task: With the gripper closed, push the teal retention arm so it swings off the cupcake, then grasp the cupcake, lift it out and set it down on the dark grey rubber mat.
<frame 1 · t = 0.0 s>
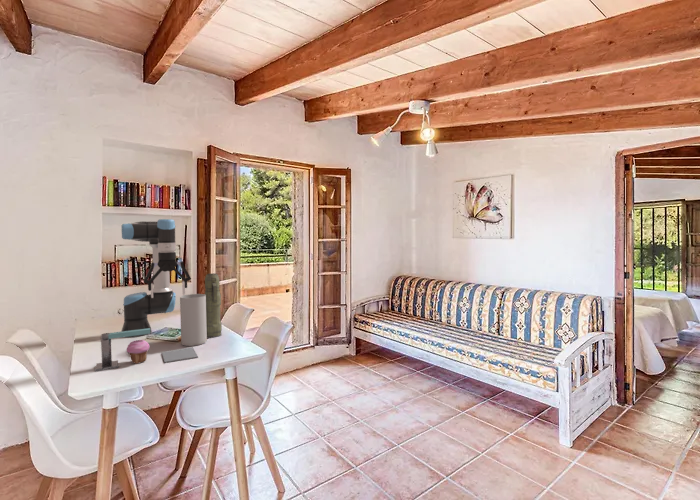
hand: (168, 296, 179), 28 cm above the table, tool pointing down, fingers open, 13 cm apart
retention arm: (126, 333, 166), point 14 cm above the table, hinge at 0.0°
cylinder vase: (194, 343, 198), on the table
cupcake: (138, 362, 169), on the table
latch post: (107, 366, 163), on the table
rubber mat: (179, 355, 178), on the table
thermos: (213, 335, 212), on the table
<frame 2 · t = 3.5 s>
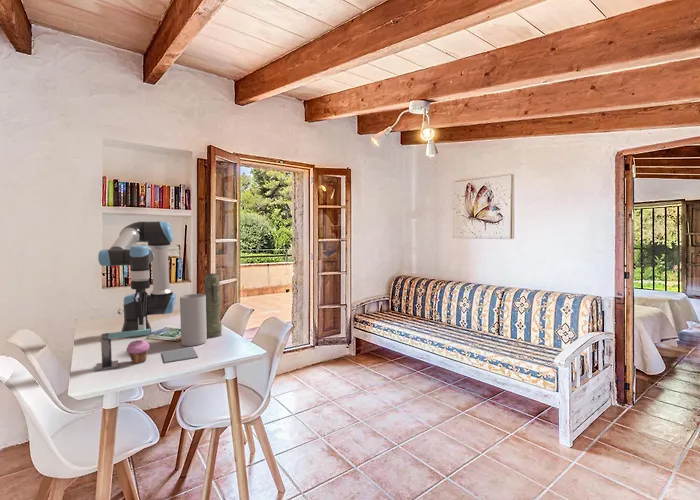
hand: (142, 331, 171), 14 cm above the table, tool pointing down, fingers closed
retention arm: (126, 334, 166), point 14 cm above the table, hinge at -4.2°, touching gripper
everything else where it was.
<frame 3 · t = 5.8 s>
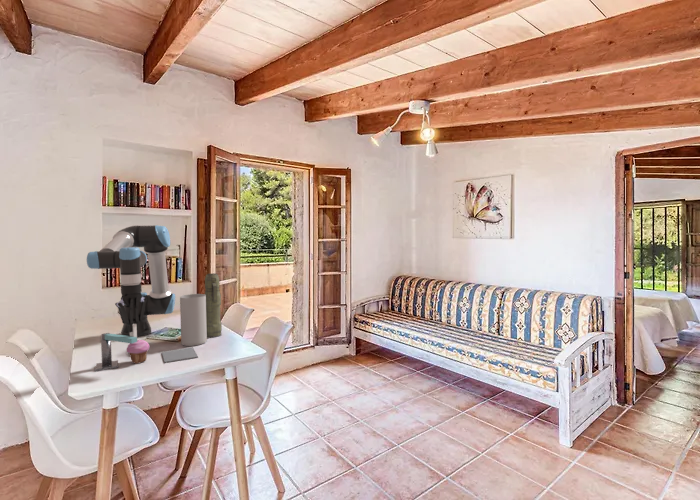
hand: (133, 338, 159), 13 cm above the table, tool pointing down, fingers closed
retention arm: (118, 338, 160), point 14 cm above the table, hinge at -51.6°, touching gripper
everything else where it was.
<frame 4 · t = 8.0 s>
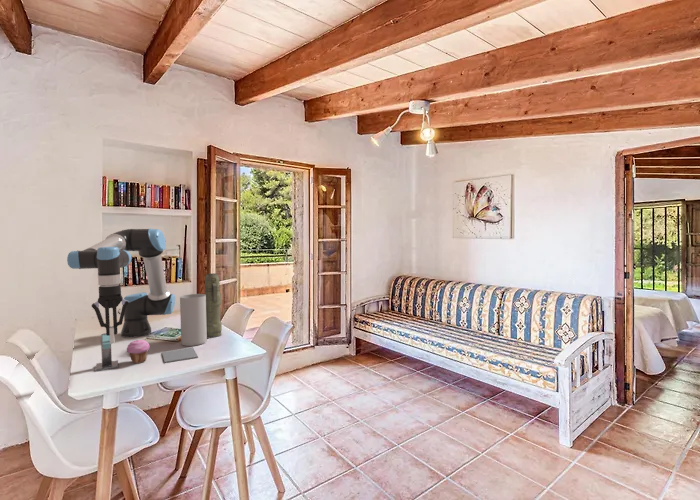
hand: (112, 342, 152), 14 cm above the table, tool pointing down, fingers closed
retention arm: (106, 340, 156), point 14 cm above the table, hinge at -86.8°
everything else where it was.
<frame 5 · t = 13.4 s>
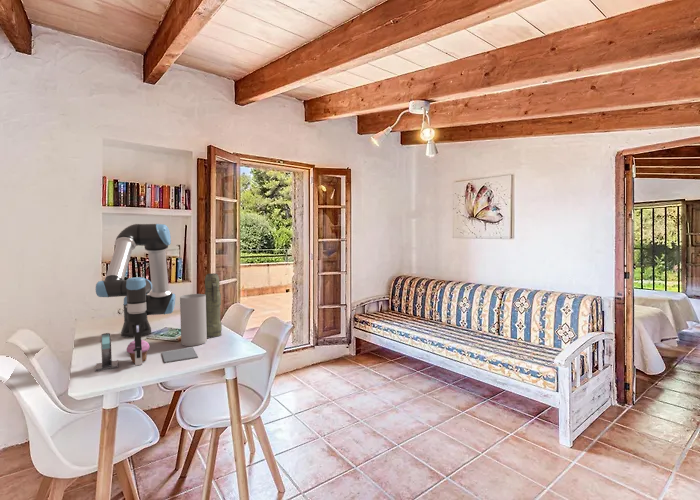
hand: (138, 361, 169), 0 cm above the table, tool pointing down, fingers closed on cupcake, 9 cm apart
retention arm: (105, 340, 156), point 14 cm above the table, hinge at -87.3°
cupcake: (138, 362, 169), on the table, touching gripper
everything else where it was.
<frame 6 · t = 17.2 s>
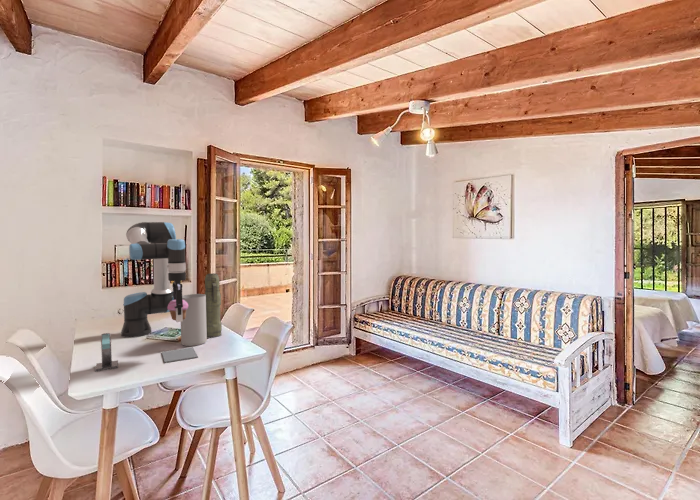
hand: (178, 319, 177), 17 cm above the table, tool pointing down, fingers closed on cupcake, 9 cm apart
cupcake: (178, 320, 177), point 17 cm above the table, touching gripper
everything else where it was.
when the fingers open (2 cm above the table, at t = 20.4 s): cupcake drops 1 cm, resting on rubber mat.
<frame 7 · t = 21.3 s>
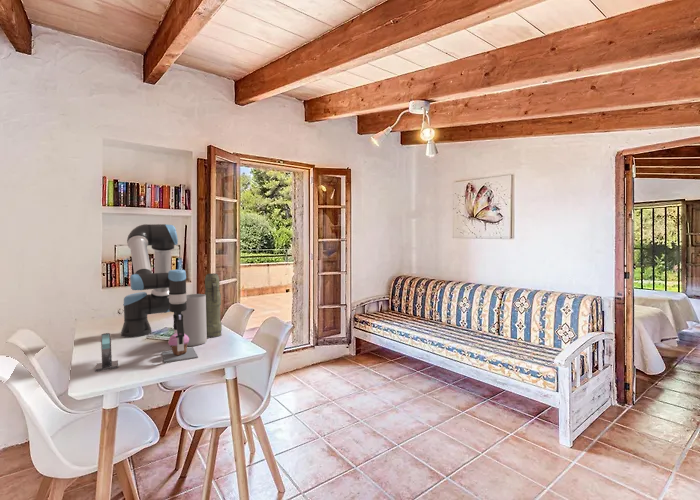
hand: (179, 346, 178), 4 cm above the table, tool pointing down, fingers open, 13 cm apart
cupcake: (179, 354, 178), resting on rubber mat
everything else where it was.
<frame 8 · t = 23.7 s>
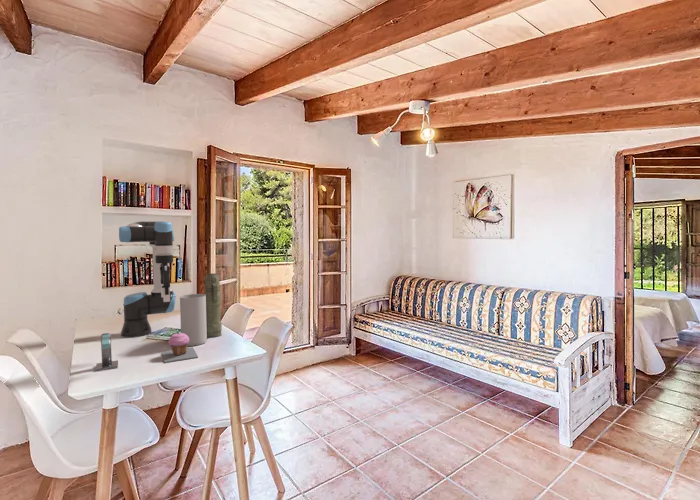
hand: (165, 299, 178), 27 cm above the table, tool pointing down, fingers open, 13 cm apart
nothing on the table moved.
at the end: retention arm at -87° (first picture: +0°); cupcake inside the target area on the rubber mat (0.1 cm from its centre), point 0.4 cm above the rubber mat's base; cupcake tilted 0° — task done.
